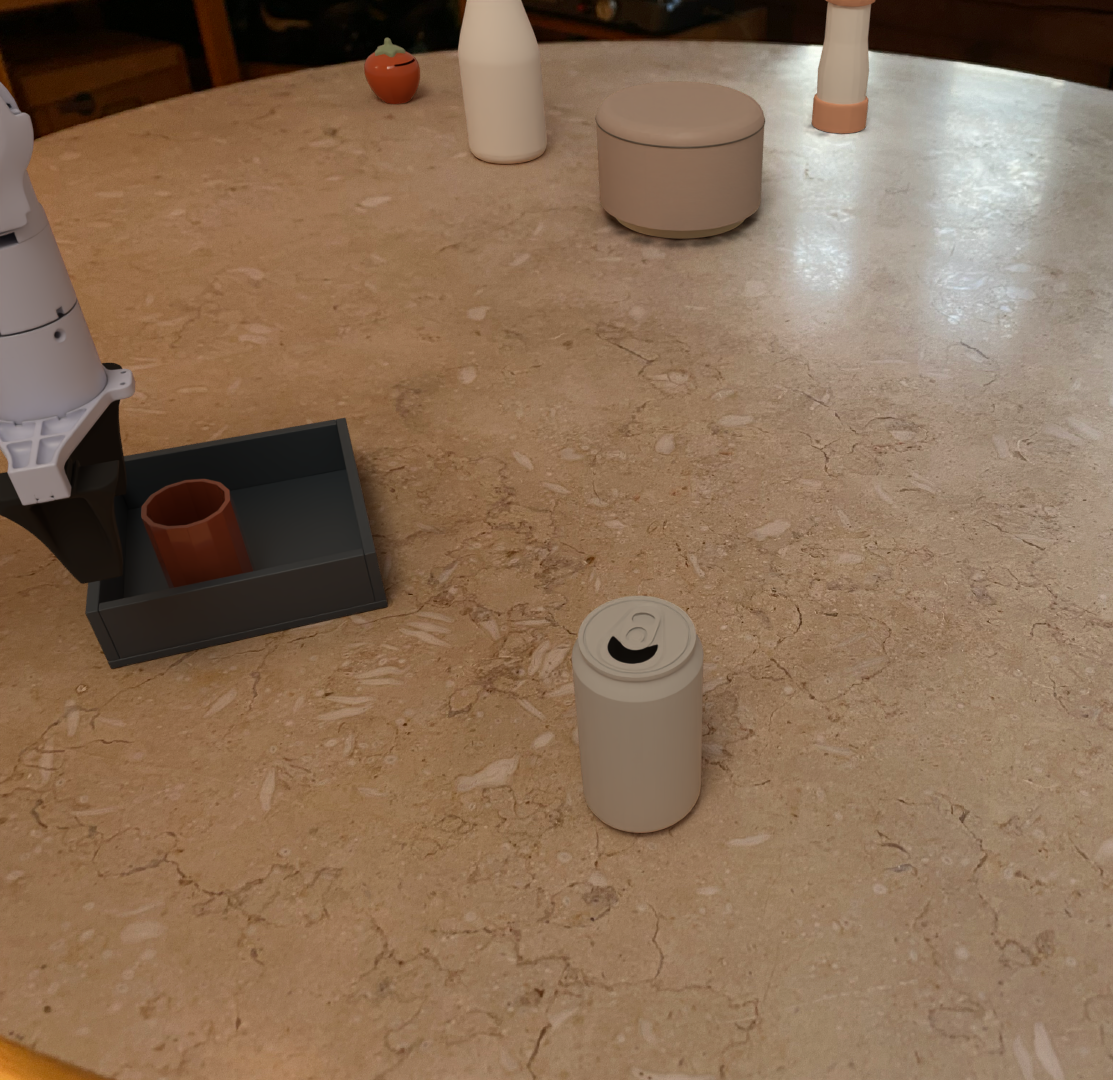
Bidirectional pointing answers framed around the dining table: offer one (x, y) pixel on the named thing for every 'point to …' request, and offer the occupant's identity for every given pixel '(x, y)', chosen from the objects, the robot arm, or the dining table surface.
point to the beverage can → (639, 712)
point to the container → (680, 158)
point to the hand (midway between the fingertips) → (104, 533)
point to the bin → (272, 538)
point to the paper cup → (196, 532)
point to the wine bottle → (501, 82)
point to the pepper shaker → (843, 68)
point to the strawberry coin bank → (392, 73)
